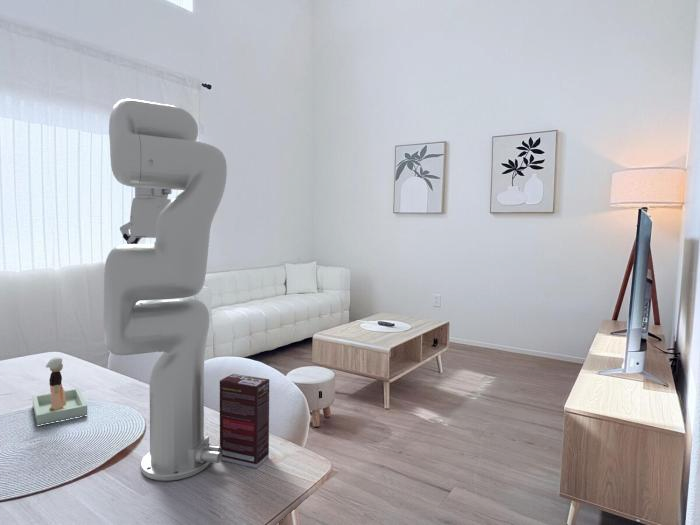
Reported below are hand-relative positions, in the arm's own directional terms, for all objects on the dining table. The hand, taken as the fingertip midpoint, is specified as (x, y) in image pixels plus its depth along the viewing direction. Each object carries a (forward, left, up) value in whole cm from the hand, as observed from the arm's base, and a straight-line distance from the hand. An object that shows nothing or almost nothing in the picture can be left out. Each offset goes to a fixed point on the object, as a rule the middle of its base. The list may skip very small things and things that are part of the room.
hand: (152, 260), depth 112 cm
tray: (+16, +13, -36) cm, 41 cm away
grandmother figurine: (+16, +14, -36) cm, 41 cm away
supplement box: (-36, +23, -36) cm, 56 cm away
